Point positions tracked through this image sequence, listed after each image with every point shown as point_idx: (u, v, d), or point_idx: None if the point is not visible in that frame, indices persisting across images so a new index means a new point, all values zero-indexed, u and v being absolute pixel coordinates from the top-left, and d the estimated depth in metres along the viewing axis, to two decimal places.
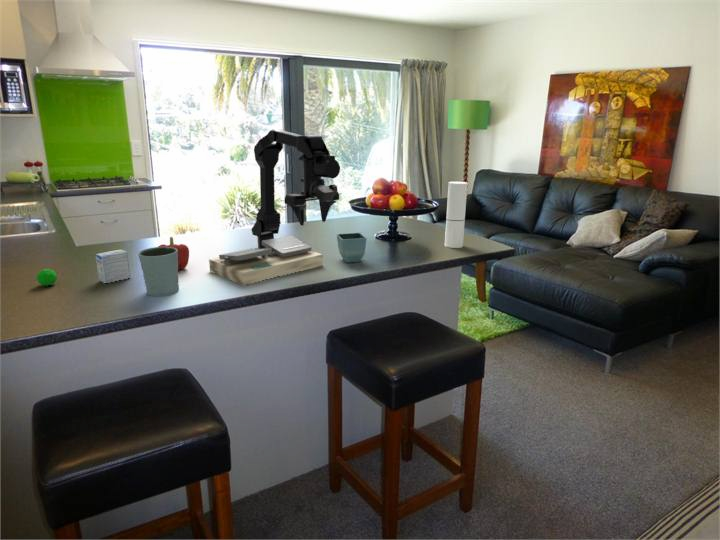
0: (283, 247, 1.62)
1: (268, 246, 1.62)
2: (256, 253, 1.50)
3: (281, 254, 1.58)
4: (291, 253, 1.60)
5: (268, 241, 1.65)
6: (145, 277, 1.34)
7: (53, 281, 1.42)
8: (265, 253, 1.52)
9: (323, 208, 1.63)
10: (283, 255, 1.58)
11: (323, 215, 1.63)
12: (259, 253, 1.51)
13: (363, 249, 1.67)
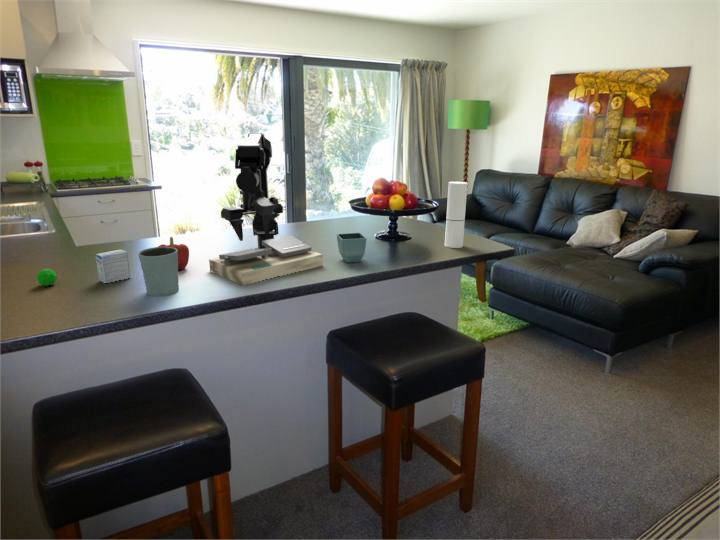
0: (283, 247, 1.62)
1: (268, 246, 1.62)
2: (256, 253, 1.50)
3: (281, 254, 1.58)
4: (291, 253, 1.60)
5: (268, 241, 1.65)
6: (145, 277, 1.34)
7: (53, 281, 1.42)
8: (265, 253, 1.52)
9: (266, 222, 1.52)
10: (283, 255, 1.58)
11: (266, 229, 1.52)
12: (259, 253, 1.51)
13: (363, 249, 1.67)
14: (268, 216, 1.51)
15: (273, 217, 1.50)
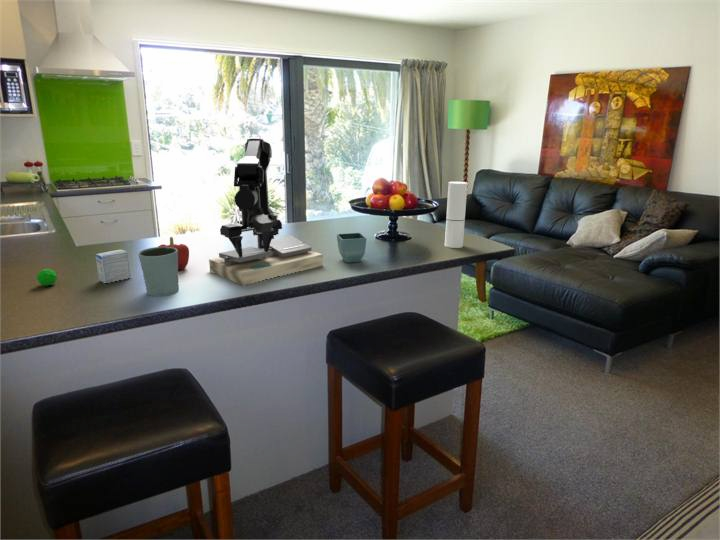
0: (283, 247, 1.62)
1: None
2: (256, 255, 1.50)
3: (281, 254, 1.58)
4: (291, 253, 1.60)
5: None
6: (145, 277, 1.34)
7: (53, 281, 1.42)
8: (265, 255, 1.53)
9: (265, 238, 1.53)
10: (283, 255, 1.58)
11: (265, 245, 1.53)
12: (259, 255, 1.51)
13: (363, 249, 1.67)
14: (267, 232, 1.52)
15: (272, 233, 1.52)
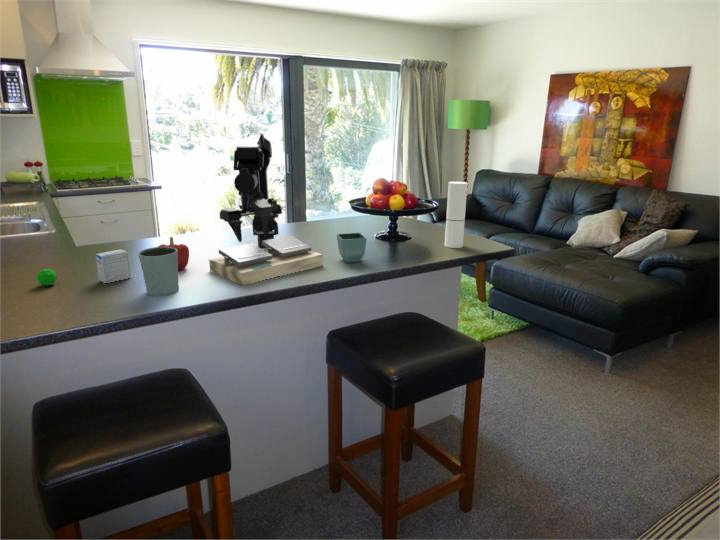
0: (283, 247, 1.62)
1: (268, 246, 1.62)
2: (257, 259, 1.51)
3: (281, 254, 1.58)
4: (291, 253, 1.60)
5: (268, 241, 1.65)
6: (145, 277, 1.34)
7: (53, 281, 1.42)
8: (265, 259, 1.53)
9: (265, 223, 1.52)
10: (283, 255, 1.58)
11: (265, 230, 1.53)
12: (259, 259, 1.52)
13: (363, 249, 1.67)
14: (267, 217, 1.51)
15: (272, 218, 1.51)
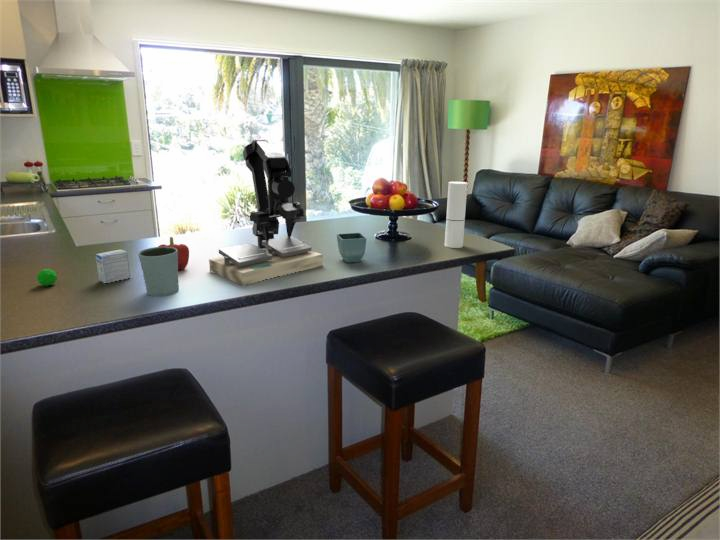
0: (283, 247, 1.62)
1: (268, 246, 1.62)
2: (257, 259, 1.51)
3: (281, 254, 1.58)
4: (291, 253, 1.60)
5: (268, 241, 1.65)
6: (145, 277, 1.34)
7: (53, 281, 1.42)
8: (265, 259, 1.53)
9: (288, 224, 1.70)
10: (283, 255, 1.58)
11: (288, 231, 1.70)
12: (259, 259, 1.52)
13: (363, 249, 1.67)
14: (291, 219, 1.69)
15: (295, 220, 1.68)
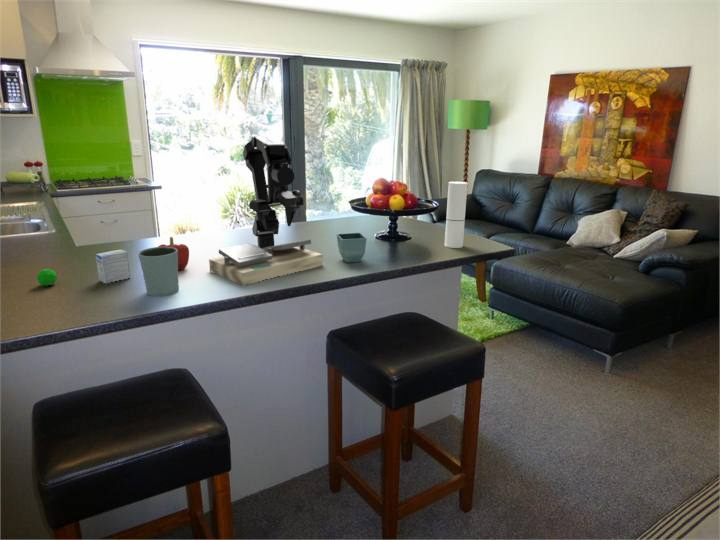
0: None
1: None
2: (257, 259, 1.51)
3: (280, 247, 1.57)
4: (291, 245, 1.59)
5: None
6: (145, 277, 1.34)
7: (53, 281, 1.42)
8: (265, 259, 1.53)
9: (288, 213, 1.69)
10: (283, 247, 1.57)
11: (288, 220, 1.69)
12: (259, 259, 1.52)
13: (363, 249, 1.67)
14: (290, 208, 1.68)
15: (295, 209, 1.67)
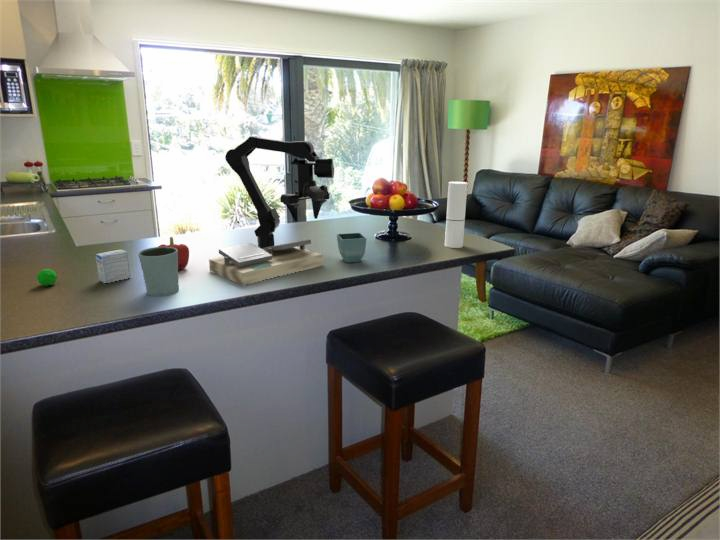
0: None
1: None
2: (257, 259, 1.51)
3: (280, 247, 1.57)
4: (290, 245, 1.59)
5: None
6: (145, 277, 1.34)
7: (53, 281, 1.42)
8: (265, 259, 1.53)
9: (315, 206, 1.81)
10: (283, 247, 1.57)
11: (315, 213, 1.81)
12: (259, 259, 1.52)
13: (363, 249, 1.67)
14: (317, 201, 1.80)
15: (322, 202, 1.80)
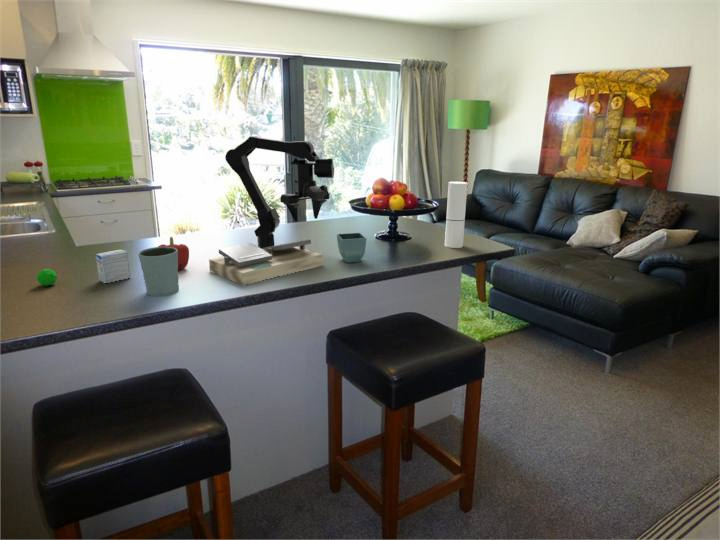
0: None
1: None
2: (257, 259, 1.51)
3: (280, 247, 1.57)
4: (290, 245, 1.59)
5: None
6: (145, 277, 1.34)
7: (53, 281, 1.42)
8: (265, 259, 1.53)
9: (315, 206, 1.81)
10: (283, 247, 1.57)
11: (315, 213, 1.81)
12: (259, 259, 1.52)
13: (363, 249, 1.67)
14: (317, 201, 1.80)
15: (322, 202, 1.80)
